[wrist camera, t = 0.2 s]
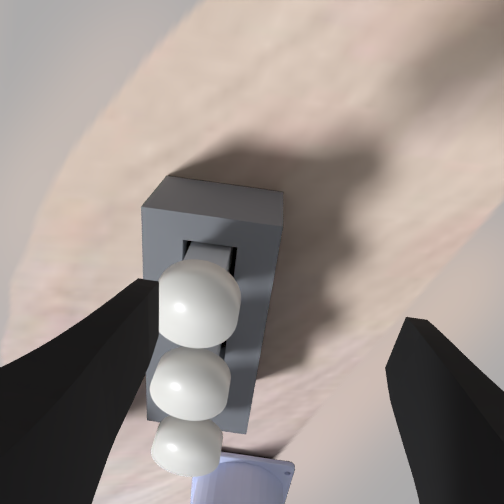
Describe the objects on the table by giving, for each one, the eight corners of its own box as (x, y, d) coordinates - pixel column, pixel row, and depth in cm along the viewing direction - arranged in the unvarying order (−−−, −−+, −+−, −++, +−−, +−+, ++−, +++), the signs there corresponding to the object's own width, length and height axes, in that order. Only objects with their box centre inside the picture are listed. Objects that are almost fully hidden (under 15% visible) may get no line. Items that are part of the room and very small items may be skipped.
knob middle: (236, 345, 22) (224, 425, 18) (177, 336, 22) (150, 414, 18) (242, 297, 20) (230, 373, 16) (179, 288, 20) (149, 361, 16)
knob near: (245, 280, 20) (233, 353, 15) (179, 271, 20) (148, 341, 15) (253, 221, 18) (242, 283, 14) (181, 211, 18) (146, 270, 14)
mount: (251, 381, 27) (245, 434, 23) (165, 369, 27) (147, 420, 23) (283, 192, 20) (283, 226, 16) (166, 175, 20) (141, 206, 16)
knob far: (229, 397, 24) (216, 481, 20) (176, 390, 24) (151, 471, 20) (234, 358, 23) (222, 440, 18) (177, 350, 23) (150, 430, 18)
